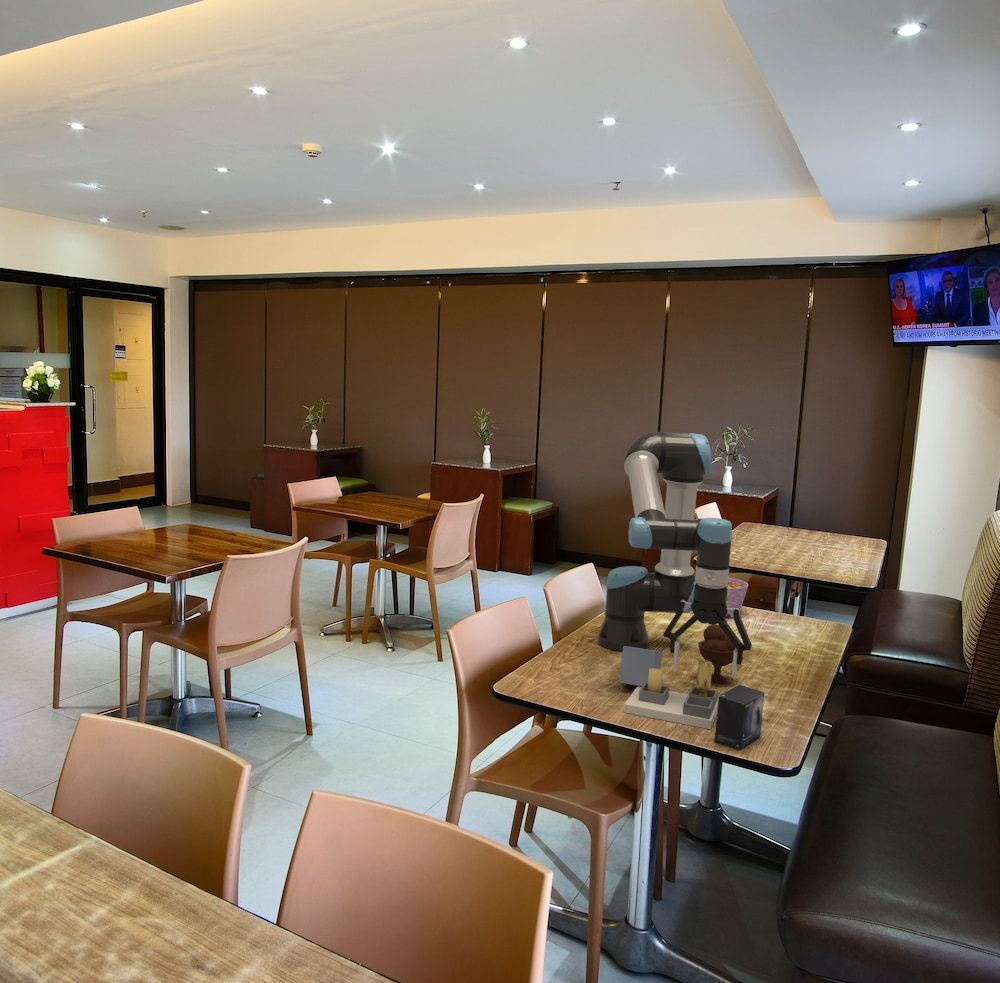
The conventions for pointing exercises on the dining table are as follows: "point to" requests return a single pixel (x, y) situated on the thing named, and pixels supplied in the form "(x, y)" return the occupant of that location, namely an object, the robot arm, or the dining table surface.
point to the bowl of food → (735, 593)
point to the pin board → (672, 703)
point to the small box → (739, 716)
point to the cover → (638, 665)
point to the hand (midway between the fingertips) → (704, 671)
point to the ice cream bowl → (716, 651)
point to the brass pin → (704, 678)
